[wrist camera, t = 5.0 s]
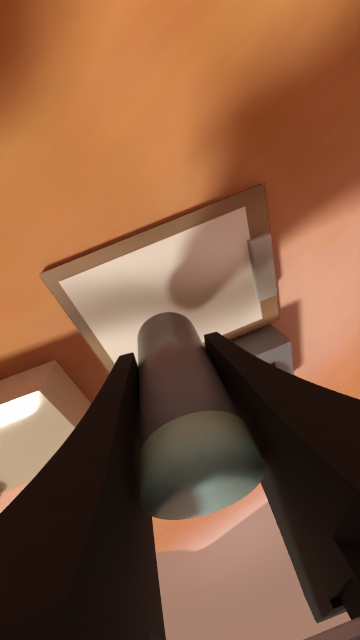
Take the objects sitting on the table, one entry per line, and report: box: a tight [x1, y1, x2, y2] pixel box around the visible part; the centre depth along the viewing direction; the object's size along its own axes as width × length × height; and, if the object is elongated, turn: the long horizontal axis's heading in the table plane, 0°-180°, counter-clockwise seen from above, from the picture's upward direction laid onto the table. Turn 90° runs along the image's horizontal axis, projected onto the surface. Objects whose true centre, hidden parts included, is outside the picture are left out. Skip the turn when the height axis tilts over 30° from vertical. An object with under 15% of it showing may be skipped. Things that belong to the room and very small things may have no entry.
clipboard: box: [39, 183, 279, 373], centre depth 13 cm, size 9×13×1 cm
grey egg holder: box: [231, 325, 294, 375], centre depth 17 cm, size 7×7×2 cm
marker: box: [137, 312, 266, 520], centre depth 8 cm, size 3×3×7 cm
